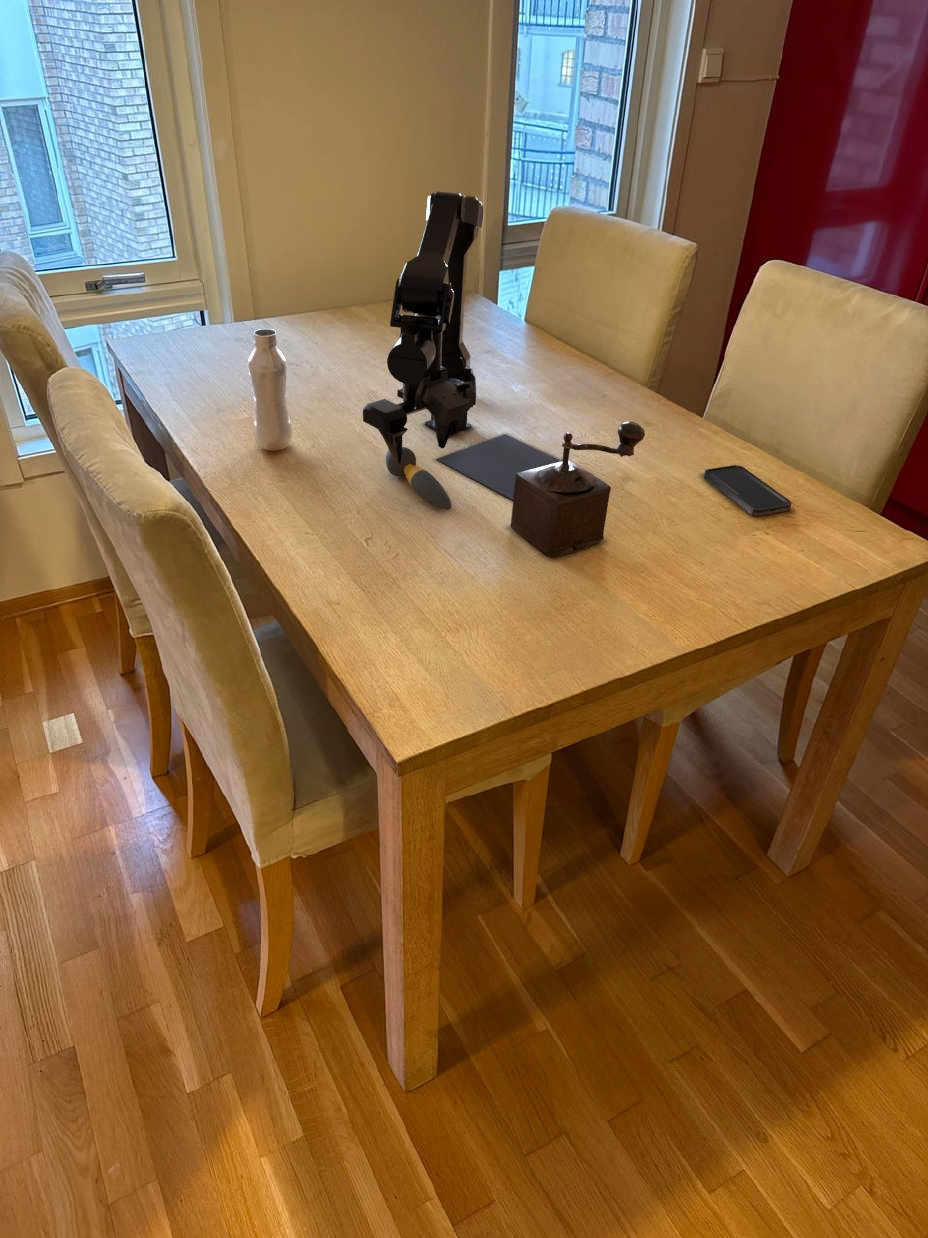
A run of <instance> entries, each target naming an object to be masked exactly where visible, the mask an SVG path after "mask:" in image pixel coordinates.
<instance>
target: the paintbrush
mask: <svg viewBox="0 0 928 1238" xmlns="http://www.w3.org/2000/svg"><path fill="white" fill-rule="evenodd" d="M385 466H386V468H387V471H388V472H389V473H390V474H391V475H392V476H393V477H396V478H406V479H407V482H408V483H409V486H410V487H411V488H412V490H413V491H414V492H415V493H416V494H417V495H418V496H420V497H421V498H422V499H424V500H425V501H426V502H428V503H430V504H431V505H432V506H435V507H436V508H439V509H442V510H445V511H447V510H451V508H452V501H451V498H450V496H449V495H448V492H447V491H446V489H445V488H444V487H443V485H442V484H441V483H440V481H438V480H437V478H436V477H435V476H434V475H433V474H431V472H429V470H426V469H424V468H422V467H420V466H417V457H416V455H415V453H414V452H413V450H412V449H410V448H409V447H407V446H402V459H401V463H400V464H397V463H396V462H395V461H394V459H393V457H392V455H391V453H390V451H389V449H388V450H387V452H386V454H385Z"/></svg>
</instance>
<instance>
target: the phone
mask: <svg viewBox="0 0 928 1238" xmlns="http://www.w3.org/2000/svg"><path fill="white" fill-rule="evenodd" d="M703 479H704V480H705V481H706V482H708V483H709V484H711V485H712V486H713V487H715V489H717V490H718V491H720V492H721V493H722V494H724V495H725V496H726V497H727V498H729V499H730V500H731V501H733V502H734V503H735V504H736V505H738V506H739V507H740V508H742V509H743V510H744V511H746V512H747V513H748V514H749V515H752V516H754V517H761V516H768V515H773V514H779V513H784V512H788V511H789V512H790V510H791V507H792V503H793V502H792V501H791V500H789V498H787V497H786V496H784V495H783V494H781V493H780V492H779V491H777V490H776V489H775V488H774V487H772V486H770V485H769V484H768V483H766V482H765V481H764V480H762V479H761V478H759V477H758V476H757V475H755V474H754V473H753V472H751V471H750V470H749V469H747V468H745V467H744V466H742V465H740V464H739V465H738V464H732V465H726V466H725V465H724V466H719V467H713V468H707V469H705V470H704V472H703Z"/></svg>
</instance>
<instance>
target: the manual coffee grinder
mask: <svg viewBox="0 0 928 1238" xmlns="http://www.w3.org/2000/svg"><path fill="white" fill-rule="evenodd" d="M616 433H617V435H618V438H619V442H618V444H617V445H616V446H615V447H610V446H606V445H602V444H596V443H595V444H594V443H572V440H573V437H574V436H573V433H571V432H565V433H564V434H563V441H562V444H561V447H563V452H562V460H561V461H562V462H558V463H554V464H551V465H547V466H543V467H539V468H535V469H531V470H527V471H524V472H520V473H516V476H515V487H514V497H513V501H512V508H511V509H512V510H511V518H510V519H511V521H510V529H511V530H513V531H514V532H515V533H516V534H517V535H518V536H519V537H521V538H522V539H523V540H525V541H526V542H527V543H528V544H530V545H531V546H533V547H534V548H535V549H537V550H538V551H539V552H540V553H541V554H543V555H544V556H546V557H548V558H550V559H554V558H556V557H561V556H563V555H567V554H572V553H574V552H578V551H581V550H584V549H586V548H588V547H591V546H593V545H596V544H598V543H599V542H602V541H603V540H604V539H605V538H604V537H605V536H604V532H605V526H606V520H607V514H608V507H609V501H610V495H611V491H612V490H611V489H612V488H611V485H609V484H608V483H607V482H606V481H604V480H602V479H601V478H599V477H597V476H595V475H594V474H593V473H591V472H589V471H587V470H586V469H584V468H582V467H581V466H580V465H578V464H576V463H574V462H572V461H570V460H569V459H570V453H571V450H574V451H600V452H604V453H606V454H607V453H608V454H614V455H615V454H616V455H618V456H620V457H621V458H623V457H626V456H628V457H632V456H634V455H635V452H634V451H635V447H636V446H637V445H638V444H639V443H641V442H642V441H643V440H644V438H645V436H646V432H645V429H644V428H643V427H642V426H641V424H639V423H638V422H634V421H631V420H630V421H625V422H622V423H620V425H618V427H617V432H616Z"/></svg>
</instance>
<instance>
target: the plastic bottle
mask: <svg viewBox="0 0 928 1238" xmlns="http://www.w3.org/2000/svg"><path fill="white" fill-rule="evenodd" d="M277 335H278V334H277V331H276V330H275V329H273V328H259V329H256V330H254V331H253V346H255V348H254V349H253V351H252V352H251V354H250V356H249V358H248V360H247V371H248V375H249V380H250V383H251V387H252V388H251V389H252V393H253V399H254V400H253V401H254V425H253V436H254V439H255V443H256V444H257V445H258V447H259V448H261V449H263V450H266V451H279V450H283V449H284V450H285V448H288V447H289V446H290V444H291V442H292V439H293V428H292V423H291V421H290V416H289V409H288V404H287V377H288V376H287V373H288V362H287V360H286V358H285V355H284V354H283V353H282V351H281V350H280V349H279V348H278V347H277V345H278V343H279V341H278V338H277Z"/></svg>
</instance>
